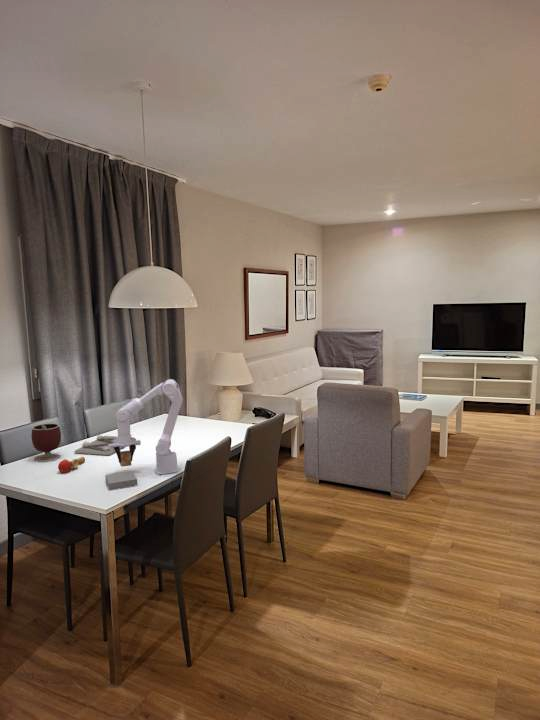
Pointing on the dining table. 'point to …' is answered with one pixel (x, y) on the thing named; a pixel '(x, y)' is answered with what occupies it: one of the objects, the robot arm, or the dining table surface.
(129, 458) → the walnut block
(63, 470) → the kendama
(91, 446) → the grey piece
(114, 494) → the dining table surface
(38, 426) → the mate gourd
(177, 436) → the dining table surface
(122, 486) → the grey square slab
